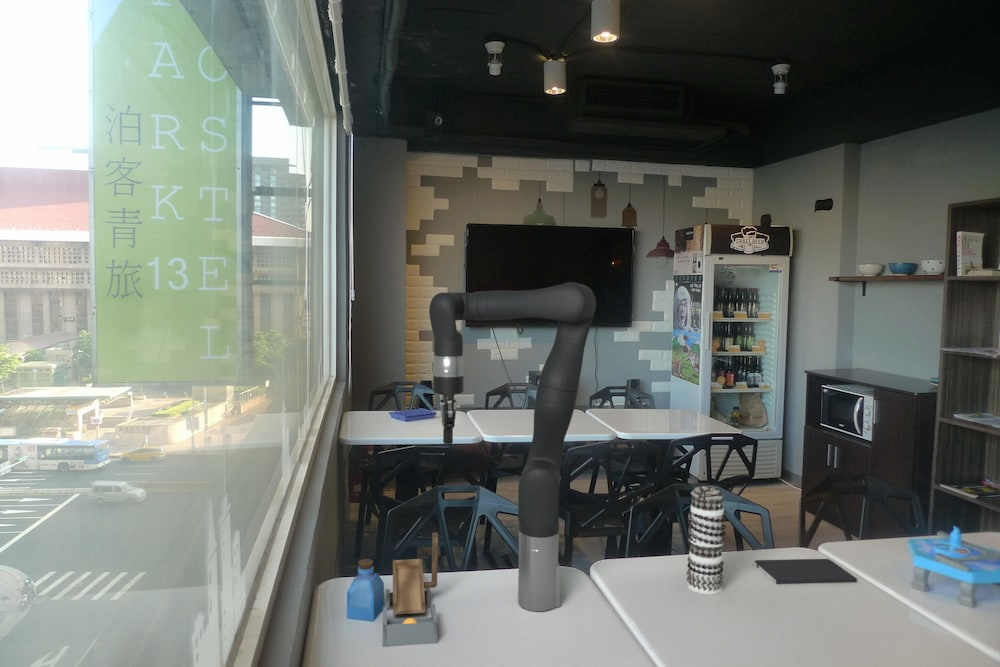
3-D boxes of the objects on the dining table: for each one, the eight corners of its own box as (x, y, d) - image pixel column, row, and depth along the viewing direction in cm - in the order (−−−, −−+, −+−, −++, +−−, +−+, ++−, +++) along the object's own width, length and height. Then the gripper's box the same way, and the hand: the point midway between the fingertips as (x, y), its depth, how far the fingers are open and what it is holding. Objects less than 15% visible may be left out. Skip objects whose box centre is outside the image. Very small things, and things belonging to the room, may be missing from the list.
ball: (418, 634, 145) (418, 616, 146) (418, 637, 142) (418, 618, 143) (401, 636, 145) (401, 617, 146) (401, 638, 141) (401, 619, 142)
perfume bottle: (373, 621, 150) (373, 568, 149) (347, 618, 152) (346, 565, 151) (383, 609, 156) (383, 557, 156) (358, 606, 158) (358, 555, 157)
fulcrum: (429, 597, 162) (429, 584, 162) (430, 607, 157) (430, 593, 157) (386, 600, 161) (386, 586, 160) (386, 610, 156) (386, 596, 156)
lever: (434, 568, 168) (435, 515, 165) (439, 611, 152) (440, 554, 148) (392, 570, 166) (392, 517, 163) (392, 614, 150) (393, 556, 147)
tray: (434, 620, 151) (434, 602, 151) (437, 642, 142) (437, 624, 141) (383, 623, 149) (383, 606, 149) (382, 646, 140) (382, 627, 140)
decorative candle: (731, 593, 167) (735, 492, 165) (697, 597, 164) (700, 494, 163) (711, 578, 176) (714, 482, 174) (678, 581, 173) (681, 484, 172)
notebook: (776, 586, 172) (856, 584, 174) (776, 580, 172) (856, 578, 174) (753, 565, 185) (828, 564, 187) (753, 560, 185) (828, 558, 187)
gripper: (466, 377, 162) (465, 449, 164) (460, 370, 175) (460, 437, 177) (434, 377, 161) (434, 450, 162) (431, 370, 174) (431, 437, 175)
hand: (447, 443), depth 170 cm, fingers closed
